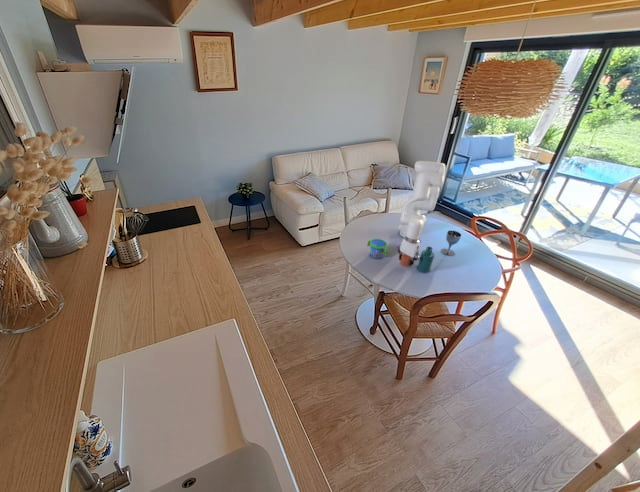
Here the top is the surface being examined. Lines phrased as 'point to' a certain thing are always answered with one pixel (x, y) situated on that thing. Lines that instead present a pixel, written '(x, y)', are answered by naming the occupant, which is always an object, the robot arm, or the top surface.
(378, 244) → the snack cup
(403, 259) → the cup
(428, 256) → the bottle
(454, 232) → the wine glass
